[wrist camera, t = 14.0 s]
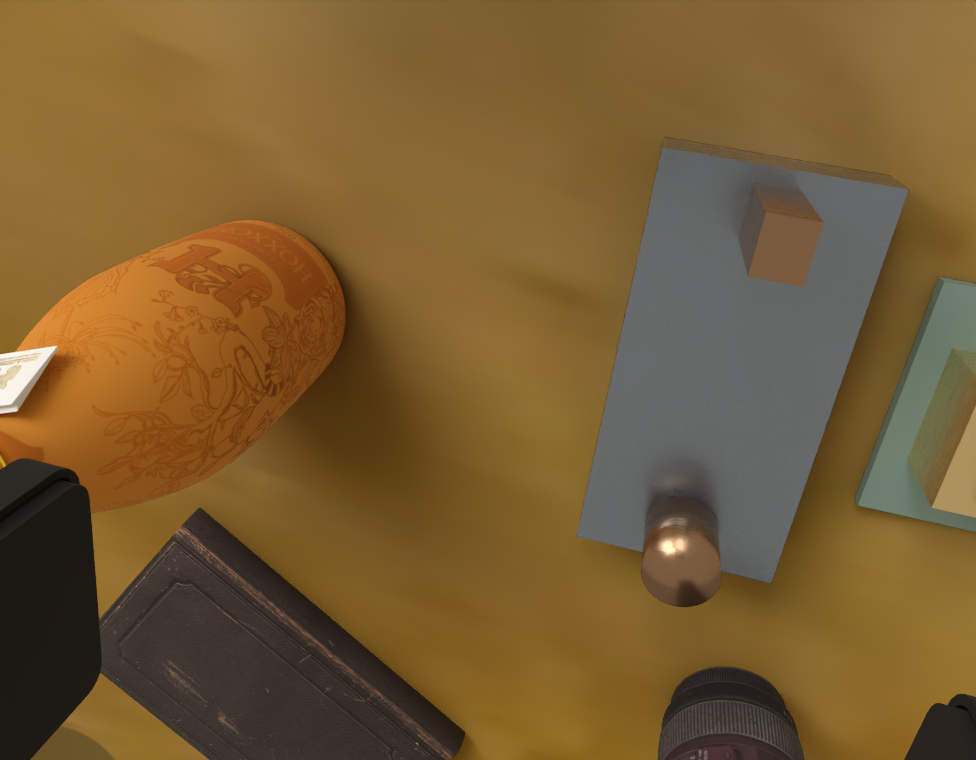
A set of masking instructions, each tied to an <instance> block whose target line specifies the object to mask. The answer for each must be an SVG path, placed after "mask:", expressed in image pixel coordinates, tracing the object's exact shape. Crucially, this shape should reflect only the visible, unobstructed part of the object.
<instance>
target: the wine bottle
mask: <svg viewBox="0 0 976 760" xmlns="http://www.w3.org/2000/svg"><path fill="white" fill-rule="evenodd" d="M345 321H346V310H345V302H344V296H343V293H342V289H341V286H340V283H339V281H338V278H337V276H336V274H335V272H334V271H333V269H332V267H331V266H330V264H329V263H328V261H327V260H326V258H325V257H324V256H323V255H322V253H321V252H320V251H319V250H318V249H317V248H316V247H315V246H314V245H313V244H311V243H310V242H309V241H308V240H307V239H305V238H304V237H302V236H301V235H300V234H298V233H296V232H294V231H293V230H291V229H289V228H286V227H284V226H282V225H279V224H276V223H272V222H267V221H260V220H240V221H233V222H229V223H225V224H221V225H218V226H215V227H212V228H209V229H206V230H203V231H201V232H198V233H195V234H192V235H190V236H187V237H184V238H182V239H179V240H177V241H174V242H171V243H169V244H166V245H164V246H161V247H159V248H156V249H153V250H151V251H149V252H146V253H144V254H141V255H139V256H137V257H134V258H132V259H130V260H127V261H125V262H123V263H121V264H119V265H117V266H114V267H112V268H110V269H108V270H106V271H104V272H102V273H100V274H98V275H96V276H94V277H92V278H91V279H89V280H87V281H86V282H84V283H83V284H81V285H80V286H78V287H77V288H76V289H74V290H73V291H71V292H70V293H69V294H67V295H66V296H65V297H64V298H63V299H61V300H60V301H59V302H58V303H57V304H56V305H55V306H54V307H53V308H52V309H51V310H50V311H49V312H48V313H47V314H46V315H45V316H44V317H43V318H42V319H41V320H40V321H39V322H38V324H37V325H36V326H35V327H34V328H33V329H32V331H31V332H30V333H29V334H28V335H27V337H26V338H25V339H24V341H23V342H22V343H21V345H20V346H19V347H18V349H17V350H16V352H13V353H7V354H1V355H0V469H2V468H3V467H5V466H6V465H8V464H10V463H11V462H13V461H15V460H18V459H21V458H29V459H33V460H37V461H41V462H45V463H49V464H52V465H56V466H60V467H64V468H68V469H70V470H72V471H74V472H75V473H76V474H77V476H78V477H79V481H80V485H82V486H84V487H86V489H87V490H88V493H89V497H90V510H91V513H96V512H101V511H106V510H112V509H117V508H121V507H126V506H130V505H135V504H138V503H142V502H146V501H149V500H152V499H156V498H159V497H162V496H165V495H168V494H171V493H174V492H176V491H179V490H181V489H184V488H186V487H188V486H191V485H193V484H195V483H197V482H199V481H201V480H203V479H206V478H208V477H209V476H211V475H213V474H214V473H216V472H218V471H219V470H221V469H222V468H224V467H225V466H227V465H228V464H229V463H231V462H232V461H233V460H235V459H236V458H237V457H239V456H240V455H241V454H242V453H243V452H244V451H246V450H247V449H248V448H249V447H250V446H251V445H252V444H253V443H254V442H255V441H256V440H258V439H259V438H260V437H261V436H262V435H263V434H264V433H265V432H266V431H267V430H268V429H269V428H270V427H271V426H272V425H273V424H274V423H275V422H276V421H277V420H278V419H279V418H280V417H281V416H282V415H283V414H284V413H285V412H286V411H287V410H288V409H289V408H290V407H291V406H292V405H293V404H294V403H295V402H296V401H297V400H298V399H299V398H300V397H301V395H302V394H303V393H304V392H305V391H306V390H307V389H308V388H309V387H310V386H311V385H312V384H313V383H314V381H315V380H316V379H317V378H318V377H319V376H320V375H321V374H322V373H323V371H324V370H325V369H326V368H327V367H328V365H329V364H330V362H331V361H332V359H333V358H334V356H335V355H336V353H337V351H338V349H339V347H340V344H341V341H342V338H343V334H344V329H345Z"/></svg>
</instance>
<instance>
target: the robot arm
mask: <svg viewBox="0 0 976 760" xmlns="http://www.w3.org/2000/svg"><path fill="white" fill-rule="evenodd" d="M101 666H102V653H101V640H100V627H99V614H98V601H97V588H96V575H95V562H94V549H93V536H92V523H91V510H90V497H89V493H88V490H87V489H86V487H84V486H82V485H80V481H79V477H78V476H77V474H76V473H75V472H74V471H72V470H70V469H68V468H64V467H60V466H56V465H52V464H49V463H45V462H41V461H37V460H33V459H29V458H21V459H18V460H15V461H13V462H11V463H10V464H8V465H6V466H5V467H3V468H2V469H0V760H30V759H31V758H32V757H33V756H34V755H35V754H36V752H37V751H38V750H39V749H40V748H41V747H42V746H43V745H44V744H45V742H46V741H47V740H48V739H49V738H50V737H51V736H52V735H53V733H54V732H55V731H56V730H57V729H58V728H59V727H60V726H61V724H62V723H63V722H64V721H65V720H66V719H67V718H68V717H69V715H70V714H71V713H72V712H73V711H74V710H75V709H76V708H77V706H78V705H79V704H80V703H81V702H82V701H83V700H84V699H85V697H86V696H87V695H88V694H89V693H90V691H91V690H92V689H93V687H94V685H95V683H96V681H97V679H98V677H99V674H100V670H101ZM904 760H976V697H974V696H970V695H966V694H958V695H956V696H955V697H953V698H952V699H951V700H950V702H949V703H948V705H945V704H941V703H936V704H934V705H933V706H931V708H930V709H929V711H928V712H927V714H926V716H925V718H924V720H923V722H922V725H921V727H920V729H919V731H918V733H917V735H916V737H915V739H914V741H913V743H912V745H911V747H910V749H909V751H908V753H907V755H906V757H905V759H904Z"/></svg>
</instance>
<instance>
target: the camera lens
mask: <svg viewBox="0 0 976 760" xmlns="http://www.w3.org/2000/svg"><path fill="white" fill-rule="evenodd" d="M658 760H804V755H803V751H802V747H801V744H800V741H799V738H798V733H797V729H796V725H795V723H794V720H793V718H792V716H791V715H790V713H789V712H788V710H787V709H786V707H785V704H784V701H783V699H782V697H781V696H780V694H779V693H778V692H777V690H776V689H775V688H774V687H773V686H772V685H771V684H770V683H769V682H768V681H766V680H764V679H763V678H761V677H760V676H758V675H756V674H754V673H752V672H749V671H745V670H742V669H738V668H731V667H714V668H709V669H704V670H701V671H698V672H696V673H694V674H692V675H690V676H688V677H687V678H685V679H684V680H683V681H682V682H681V683H680V684H679V686H678V687H677V688H676V690H675V691H674V694H673V696H672V699H671V704H670V705H669V706H668V708H667V710H666V712H665V714H664V717H663V722H662V731H661V735H660V741H659V748H658Z"/></svg>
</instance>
